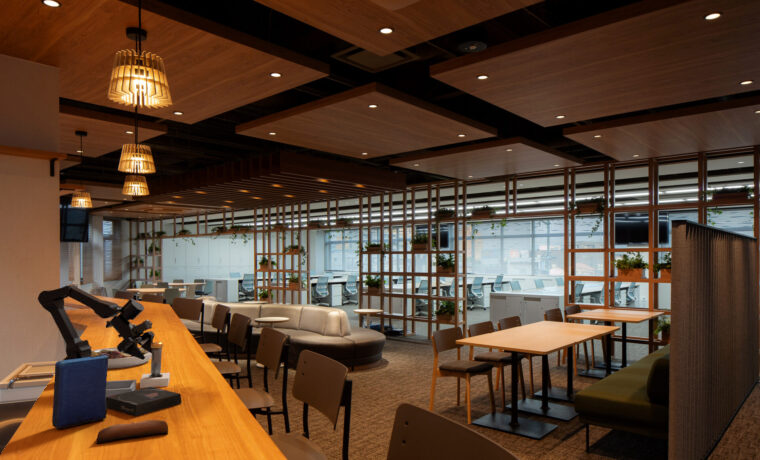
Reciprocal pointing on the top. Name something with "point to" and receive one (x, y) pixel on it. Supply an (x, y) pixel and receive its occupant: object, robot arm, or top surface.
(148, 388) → the portable cd player
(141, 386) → the pin socket block
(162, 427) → the sunglasses case
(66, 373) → the book
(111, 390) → the pin tray
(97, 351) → the bowl
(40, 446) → the top surface
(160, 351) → the pin
